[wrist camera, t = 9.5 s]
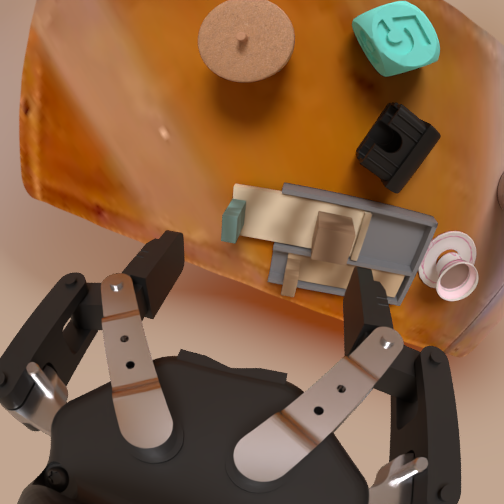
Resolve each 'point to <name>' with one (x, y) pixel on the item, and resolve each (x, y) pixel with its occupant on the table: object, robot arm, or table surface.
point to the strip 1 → (284, 217)
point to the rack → (368, 241)
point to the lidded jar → (246, 40)
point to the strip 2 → (330, 275)
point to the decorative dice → (396, 38)
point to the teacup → (450, 266)
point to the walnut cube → (332, 238)
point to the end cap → (396, 146)
